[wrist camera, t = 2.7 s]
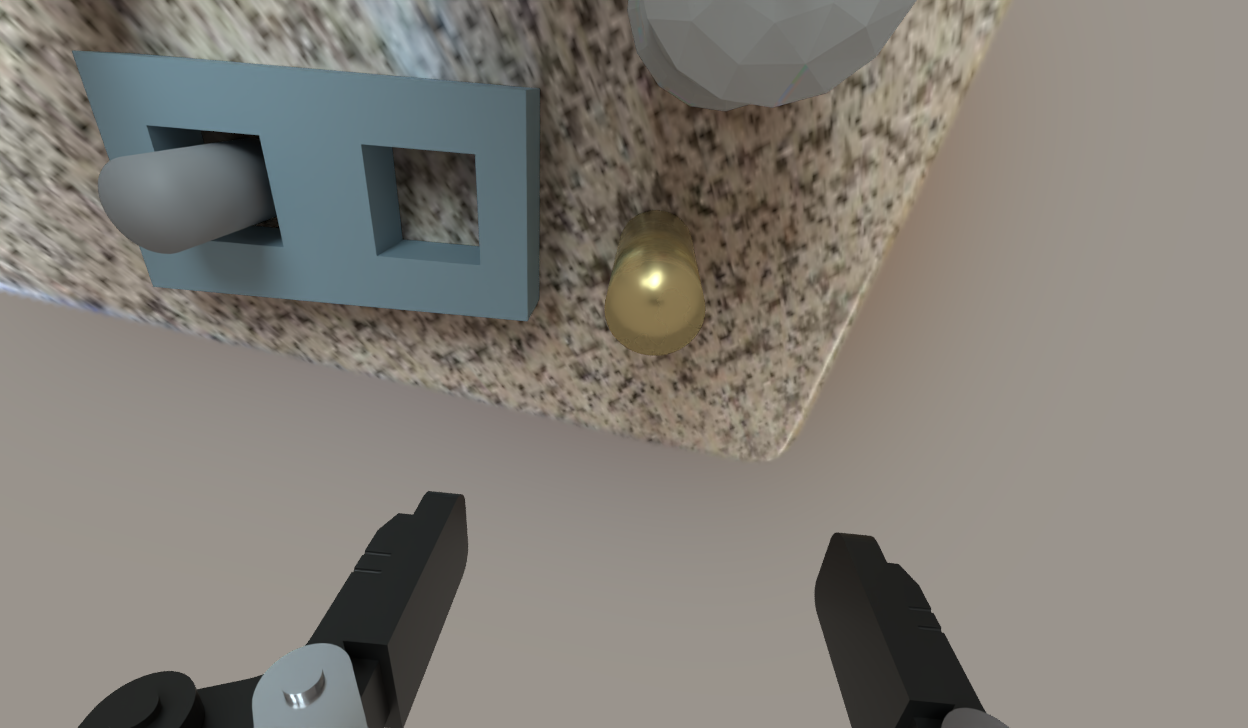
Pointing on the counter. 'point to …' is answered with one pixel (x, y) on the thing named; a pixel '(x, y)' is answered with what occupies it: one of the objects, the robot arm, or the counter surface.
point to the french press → (758, 46)
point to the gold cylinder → (655, 286)
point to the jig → (314, 181)
